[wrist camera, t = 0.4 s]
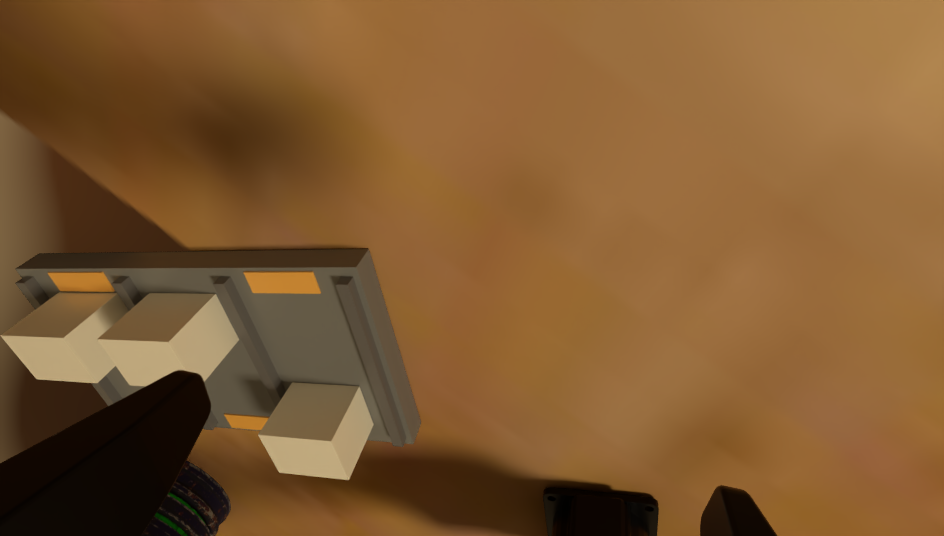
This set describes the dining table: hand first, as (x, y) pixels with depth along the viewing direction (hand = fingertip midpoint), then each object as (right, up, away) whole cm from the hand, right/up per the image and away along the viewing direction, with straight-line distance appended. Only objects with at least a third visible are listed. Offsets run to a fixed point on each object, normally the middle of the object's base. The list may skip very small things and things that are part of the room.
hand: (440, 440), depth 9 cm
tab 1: (-14, 0, +19) cm, 23 cm away
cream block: (-20, 0, +20) cm, 28 cm away
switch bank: (-13, -1, +21) cm, 25 cm away
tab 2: (-7, -5, +20) cm, 22 cm away
